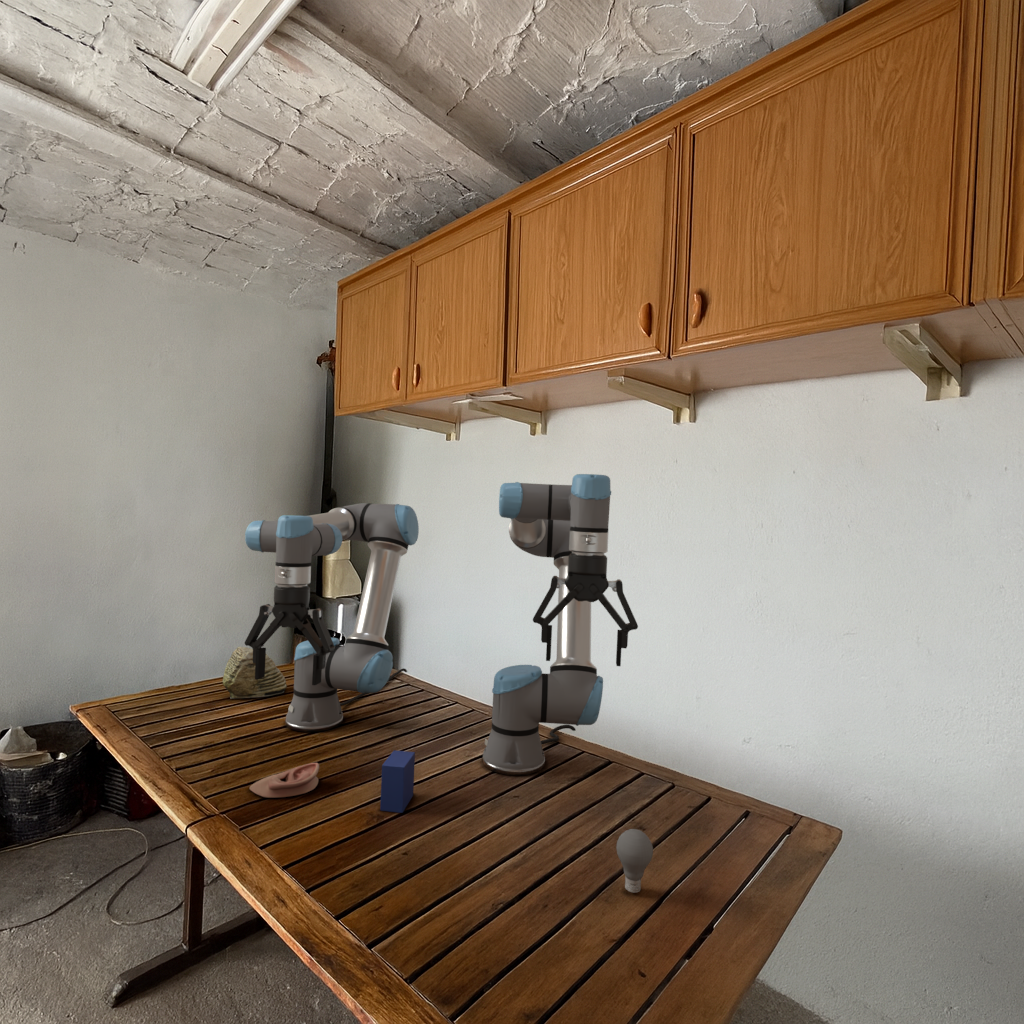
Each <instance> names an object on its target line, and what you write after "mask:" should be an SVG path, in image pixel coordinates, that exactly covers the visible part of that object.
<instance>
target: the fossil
mask: <svg viewBox="0 0 1024 1024" xmlns="http://www.w3.org/2000/svg"><path fill="white" fill-rule="evenodd" d="M252 659H253V648H251V647H248V646H246V647H245V646H238V647H237V648H236V649H235V650H233V651H232V653H231V656H230V657H229V659H228V660H227V663H226V666H225V668H224V671H223V675H222V676H223V677H222V685H223V687H224V688H225V690H226V691H228V693H229V698H230V699H250V698H264V697H271V696H275V695H281V694H284V693H285V691H286V689H287V687H288V686H287V680H286V678H285V676H284V674H283V673H282V672H281V669H279V668H278V667H277V665H276V663H275V662H274V660H273V659H272V658H271V657H270V656H269V655H268V654H267V653H266V658H265V677H263V678H260V679H258V680H256V679H255V664H256V663H253V661H252Z"/></svg>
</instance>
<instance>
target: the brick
mask: <svg viewBox="0 0 1024 1024" xmlns="http://www.w3.org/2000/svg"><path fill="white" fill-rule="evenodd" d="M415 763H416V752H415V751H406V750H395V749H394V750H393V751H392V752H391V753H390V755H388V757H387V758H386V760H385V761H384V762H383V764H382V765H381V784H380V787H381V788H380V810H379V811H381V812H389V813H399V814H402V813H404V812H405V809H406V808H407V806H408V805H409V803H410V801H411V800H412V798H413V797H414V789H415V788H414V785H415V765H416V764H415Z"/></svg>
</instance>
